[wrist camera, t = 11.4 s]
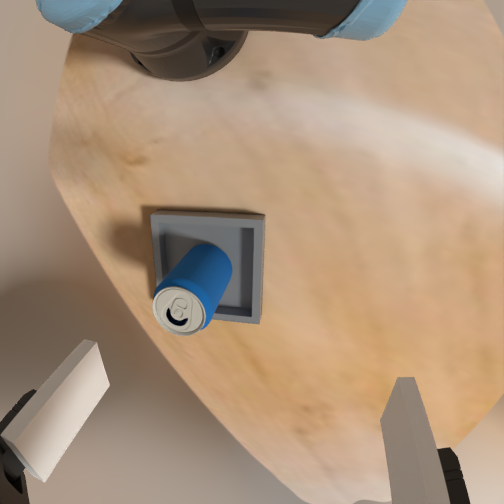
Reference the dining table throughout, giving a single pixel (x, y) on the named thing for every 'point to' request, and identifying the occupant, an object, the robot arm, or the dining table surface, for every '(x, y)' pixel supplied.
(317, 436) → the dining table surface
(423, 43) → the dining table surface
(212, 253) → the beverage can
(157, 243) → the tray
